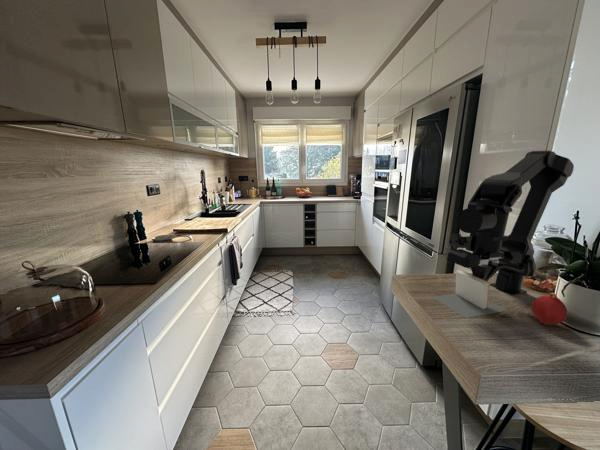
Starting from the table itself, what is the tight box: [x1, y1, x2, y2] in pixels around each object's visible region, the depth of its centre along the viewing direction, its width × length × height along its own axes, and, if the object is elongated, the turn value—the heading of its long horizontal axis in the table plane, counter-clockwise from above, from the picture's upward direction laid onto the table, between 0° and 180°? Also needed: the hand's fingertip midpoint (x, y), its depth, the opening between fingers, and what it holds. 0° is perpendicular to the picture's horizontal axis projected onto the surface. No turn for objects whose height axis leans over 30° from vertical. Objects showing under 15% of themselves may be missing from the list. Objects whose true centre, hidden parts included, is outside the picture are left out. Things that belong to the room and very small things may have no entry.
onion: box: [530, 292, 568, 326], centre depth 57 cm, size 6×6×8 cm
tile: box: [454, 269, 490, 309], centre depth 66 cm, size 2×8×7 cm, turn 16°
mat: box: [431, 293, 509, 319], centre depth 65 cm, size 14×10×1 cm
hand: (477, 287), depth 66 cm, fingers closed
